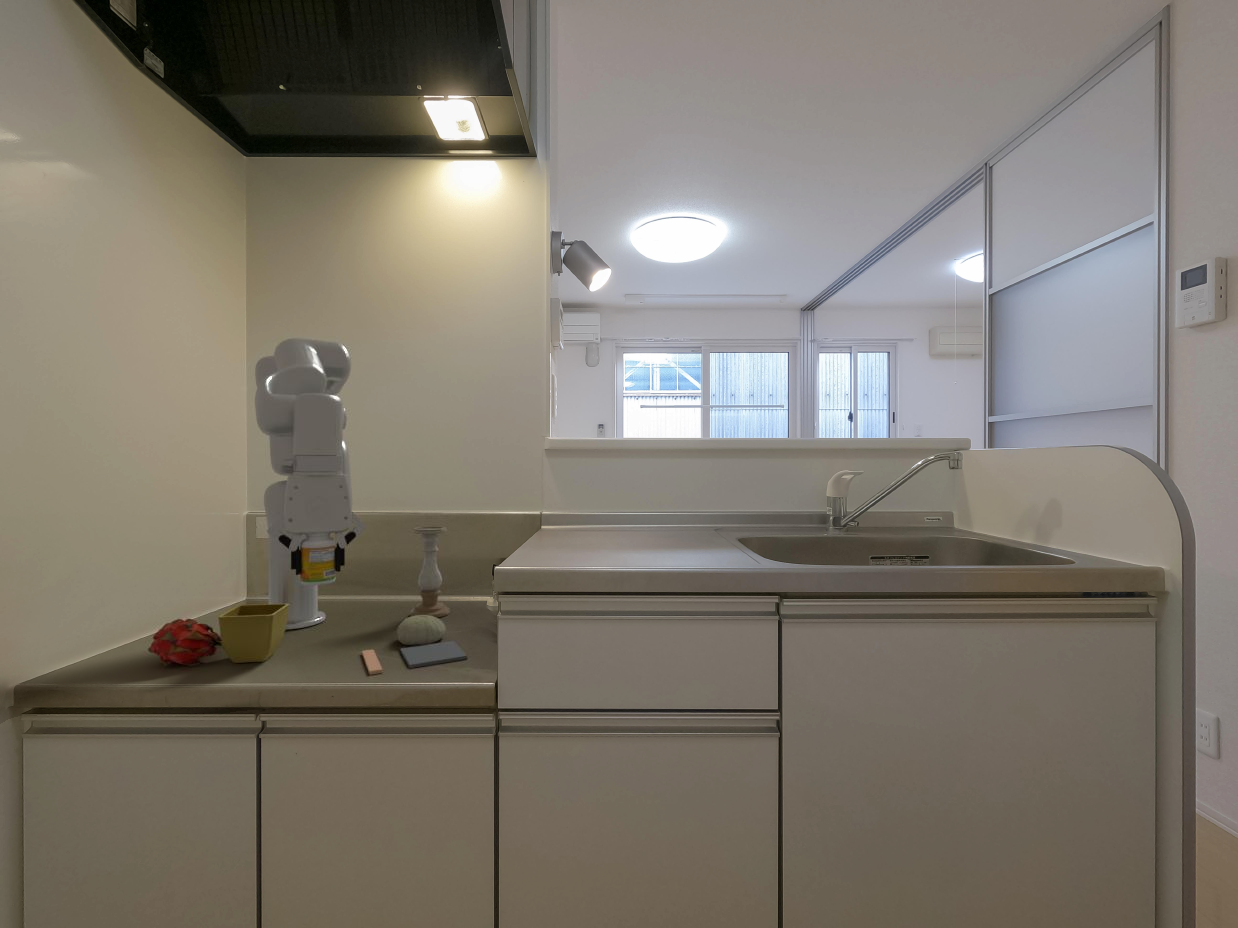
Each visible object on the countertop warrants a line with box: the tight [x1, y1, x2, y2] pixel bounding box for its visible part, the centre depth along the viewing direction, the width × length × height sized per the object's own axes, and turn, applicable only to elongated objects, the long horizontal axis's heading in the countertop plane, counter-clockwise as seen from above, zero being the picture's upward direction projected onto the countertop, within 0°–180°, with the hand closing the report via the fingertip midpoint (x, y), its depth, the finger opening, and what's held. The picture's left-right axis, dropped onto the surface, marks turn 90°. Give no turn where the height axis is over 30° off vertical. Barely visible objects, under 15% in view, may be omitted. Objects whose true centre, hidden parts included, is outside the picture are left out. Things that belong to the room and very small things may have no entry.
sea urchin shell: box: [396, 615, 447, 646], centre depth 118 cm, size 9×8×8 cm
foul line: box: [361, 648, 383, 675], centre depth 104 cm, size 12×2×1 cm, turn 29°
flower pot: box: [218, 603, 289, 664], centre depth 107 cm, size 9×9×9 cm
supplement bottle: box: [300, 533, 337, 586], centre depth 100 cm, size 5×5×10 cm
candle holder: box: [409, 525, 450, 618], centre depth 138 cm, size 9×9×20 cm
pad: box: [399, 640, 468, 669], centre depth 109 cm, size 10×10×1 cm
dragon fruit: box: [147, 618, 222, 667], centre depth 104 cm, size 8×8×12 cm
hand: (318, 570), depth 100 cm, fingers closed on supplement bottle, 5 cm apart
